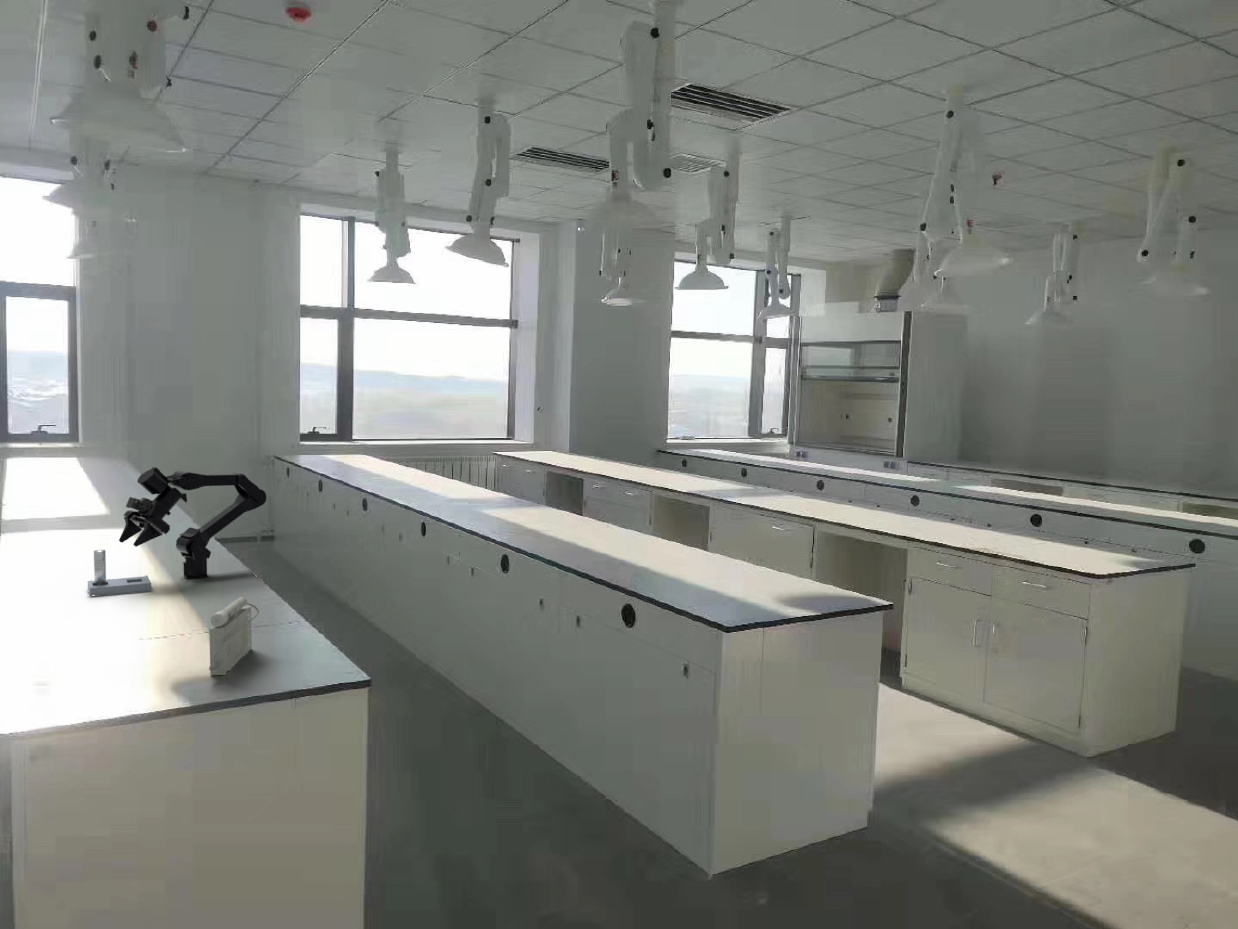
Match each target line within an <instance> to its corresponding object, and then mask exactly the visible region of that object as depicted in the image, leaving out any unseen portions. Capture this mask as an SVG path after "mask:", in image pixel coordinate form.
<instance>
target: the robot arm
mask: <svg viewBox="0 0 1238 929" xmlns="http://www.w3.org/2000/svg"><path fill="white" fill-rule="evenodd" d="M136 483H138V485H140V486H141V487H142V488H143V489H145V490H146V491H147V492H148V493H150V494H151V495H156V496H155V498H154V499H153V500H152V499H149V498H146V497H141V498H140V499H139V498H135V497H130V496H129V498H128V500H127V503H126V505H125V508H127V509H129V508H130V509H131V510H127V511H125V513H123V520H124V522H125V526H124V529H123V530H122V533H121V535H120V536H119V539H118V541H119V542H120V543H124V542H126V541H127V540H129V539H131V538H132V537H134V536H135V535H137V534H138V533H139V532H140V534H139V535H138V536H137V538H136V540H135V541H134V543H133V546H134V547H136V548H137V547H139V546H141V545H144V544H145V543H147V542H150V541H152V540H154V539H156V538H158V537H161V536H163V535H167V534H168V533H169V531H170V530H171V525H170V524H169V523H167V522H166V521H165V520H164V518H166V516H171V514H172V513H171V512H170V511H171V510H172V509H173V507H175V506H176V505H177V503H178V502H184V503H187V502H188V498H187V493H185V492H181V491H180V490H182V491H183V490H184V491H192V490H198V489H200V488H203V487H220V486H221V487H222V486H223V487H224V486H233V487H234V489H235V491H236V493H237V494H238V495H237V496H236V498H235V500H234V502H233V503H232V504H231V505H229V506H228V507H227V508H225V509H223V510H222V511H221V512H220V513H218V514H217V515H216V516H214V517H212V518H211V519H210V520H208V522H206V523H204V525H202V526H201V527H199V528H195V527H192V526H191V527H188V528H187V529H186V530H185V531H184V532H182V533H179V537H178V538H177V539H176V542H175V548H176V550H177V551H178V552H180V555H181V557H183V558H184V560H183V561H182V575H183V576H184V578H186V579H187V580H188V579H197V578H196V577H201V578H208V577H209V574H208V559H209V558H211V554H212V552H211V550H210V549H208V548H207V546H208V544H209V542H210V540H211V539H212V538H213V537H214V536H216V535H217V534H218V533H219V532H221V531H222V530H224V529H225V528H226V527H227V526H230V524H232V523H233V522H234V521H235V520H237V519H238V518H240V517H241V516H242V515H243V514H245V513H246V512H250V511H253V510H256V509H259V508H260V507H262V506H263V505H265V503H266V502H267V494H266V491H264V490H263V489H262V488H261V489H260V488H259V486H257V485H256V484H255V483H254V482H252V481H251V480H250V479H249V478H248V477H247V476H246V475H245V474H244V473H237V472H233V473H206V474H205V473H196V472H190V471H189V472H188V471H184V470H177V471H174V472H173V474H171V475H164V473H162V472H161V470H160V469H159V468H158V467H156V466H152V467H151V468H150V469H149V470H146V471H144V472H143V473H141V475H139V477H138V479H137V482H136ZM171 485H172V487H171ZM132 509H133V510H132ZM186 579H185V580H186Z"/></svg>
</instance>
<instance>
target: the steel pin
mask: <svg viewBox="0 0 1238 929" xmlns="http://www.w3.org/2000/svg"><path fill="white" fill-rule="evenodd" d="M93 570H94V575H93V576H94V581H95V586H97V585H106V580H107V561H106V549H95V550H93Z"/></svg>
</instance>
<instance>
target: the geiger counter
mask: <svg viewBox="0 0 1238 929" xmlns="http://www.w3.org/2000/svg"><path fill="white" fill-rule="evenodd" d="M252 607H253V608H254V609H255V610H256V613H255V615H253V616H252ZM259 611H260V610H259V608H258V607H257V606H256V605H254V604H252V603H249V602H248V600H247V598H246V597H244V596H239V597H238V598H236V599H235V600H234V601H232V602H231V603H230V604H228V605H226V606H225V608H223V609H222V610H219V611H217V612H215V613H214V614H213V615H212V616H211V617H210V624H211V625H212V626H211V627H210V628H209V660H210V661H209V668H208V669H209V671H210V672H209V673H210V674H209V675H224V674H225V673H226V672H227V671H228V670H229V669H231V668H232V667H233V665H235V664H236V663H237V662H238V661H239V660H240V659H241V658H242V657H243V656H244V657H246V655H247V654H248V653H249V652H250V651H249V650H251V648H253V644H252V641H253V640H252V636H253V635H252V621H253V620H254V619H256V618H257V617H258V615H259V613H260V612H259ZM248 651H249V652H248ZM251 651H252V650H251ZM247 652H248V653H247ZM246 653H247V654H246ZM245 654H246V655H245ZM244 657H243V658H244ZM243 658H242V659H243ZM242 659H241V660H242ZM241 660H240V661H241ZM240 661H239V662H240ZM239 662H238V663H239ZM238 663H237V664H238ZM237 664H236V665H237ZM236 665H235V666H236ZM233 668H234V667H233ZM233 668H232V669H233ZM232 669H231V670H232Z"/></svg>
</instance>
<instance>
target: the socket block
mask: <svg viewBox="0 0 1238 929" xmlns="http://www.w3.org/2000/svg"><path fill="white" fill-rule="evenodd" d="M87 591H89V592H88V595H89V597H90V596H92V595H104V596H114V595H125V594H135V593H144V592H145V593H147V592H152V582H151V580H150V578H149V576H145V575H144V576H133V577H123V578H112V579H111V578H110V579H106V585H97V586H95V580H88V581H87Z"/></svg>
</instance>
